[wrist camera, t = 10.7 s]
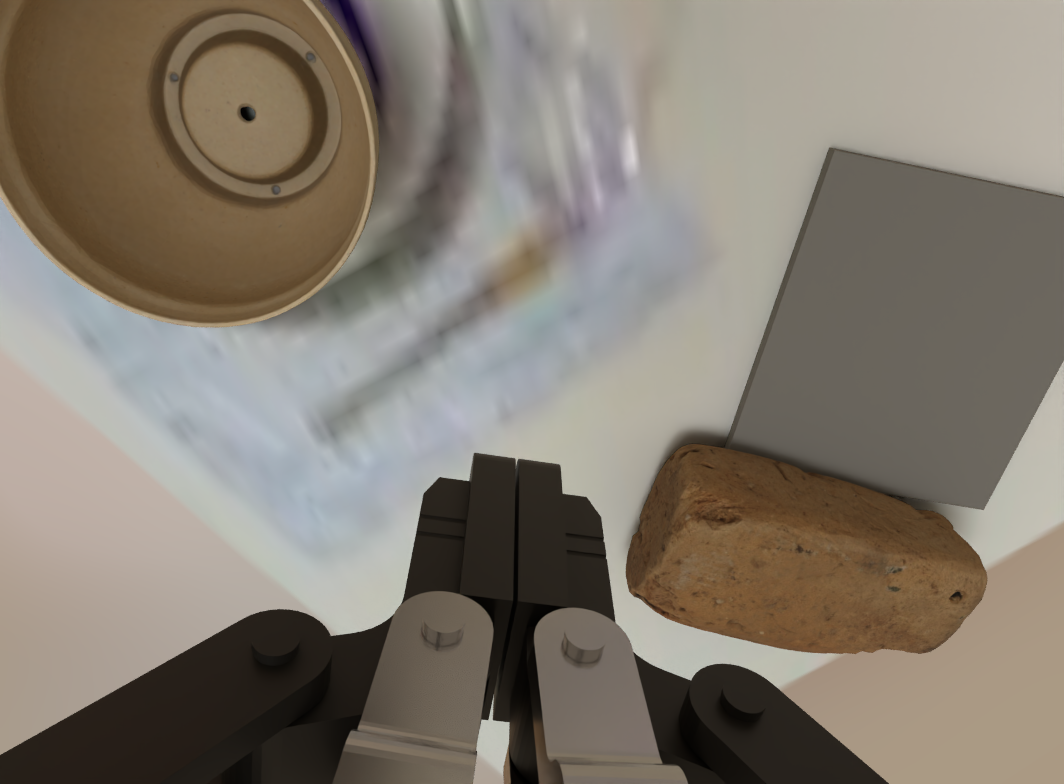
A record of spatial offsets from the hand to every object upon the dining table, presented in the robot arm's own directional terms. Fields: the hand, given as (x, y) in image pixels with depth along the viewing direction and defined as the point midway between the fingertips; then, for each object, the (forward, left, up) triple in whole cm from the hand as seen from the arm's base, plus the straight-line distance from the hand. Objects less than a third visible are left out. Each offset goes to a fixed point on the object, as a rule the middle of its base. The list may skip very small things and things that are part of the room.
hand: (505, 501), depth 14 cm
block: (+19, +12, -29) cm, 37 cm away
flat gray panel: (+6, +26, -33) cm, 42 cm away
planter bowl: (0, -14, -33) cm, 36 cm away
